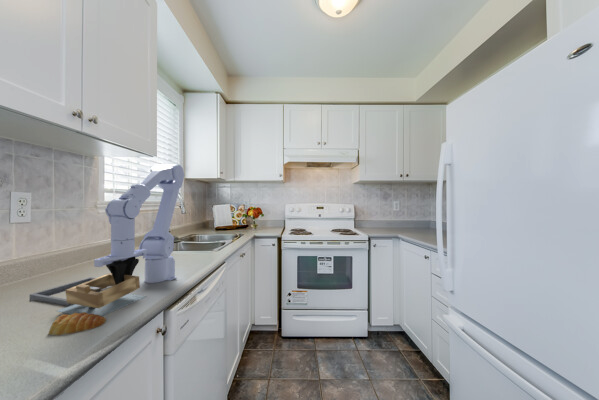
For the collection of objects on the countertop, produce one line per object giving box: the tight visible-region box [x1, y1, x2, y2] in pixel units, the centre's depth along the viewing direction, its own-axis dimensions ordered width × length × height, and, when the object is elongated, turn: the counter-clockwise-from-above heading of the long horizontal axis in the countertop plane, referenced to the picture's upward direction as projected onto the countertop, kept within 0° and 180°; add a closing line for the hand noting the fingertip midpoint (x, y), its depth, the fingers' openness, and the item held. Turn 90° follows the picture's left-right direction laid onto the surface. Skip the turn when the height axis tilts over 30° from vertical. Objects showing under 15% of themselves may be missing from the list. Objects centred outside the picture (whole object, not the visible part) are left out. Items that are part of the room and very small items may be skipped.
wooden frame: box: [64, 272, 141, 308], centre depth 67 cm, size 11×11×5 cm
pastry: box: [48, 312, 107, 336], centre depth 55 cm, size 9×7×4 cm
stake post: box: [89, 286, 101, 309], centre depth 64 cm, size 2×4×5 cm, turn 74°
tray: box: [28, 277, 112, 307], centre depth 75 cm, size 16×16×2 cm
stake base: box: [56, 293, 147, 317], centre depth 67 cm, size 14×14×1 cm
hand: (122, 284), depth 72 cm, fingers closed on wooden frame
